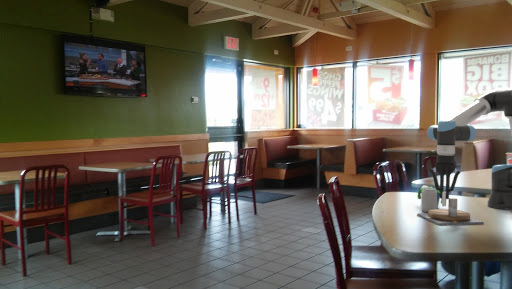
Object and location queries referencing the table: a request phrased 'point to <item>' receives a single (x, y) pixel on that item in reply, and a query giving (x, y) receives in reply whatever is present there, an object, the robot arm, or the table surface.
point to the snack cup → (437, 195)
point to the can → (428, 199)
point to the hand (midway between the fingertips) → (444, 205)
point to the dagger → (426, 186)
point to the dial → (449, 212)
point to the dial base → (443, 222)
